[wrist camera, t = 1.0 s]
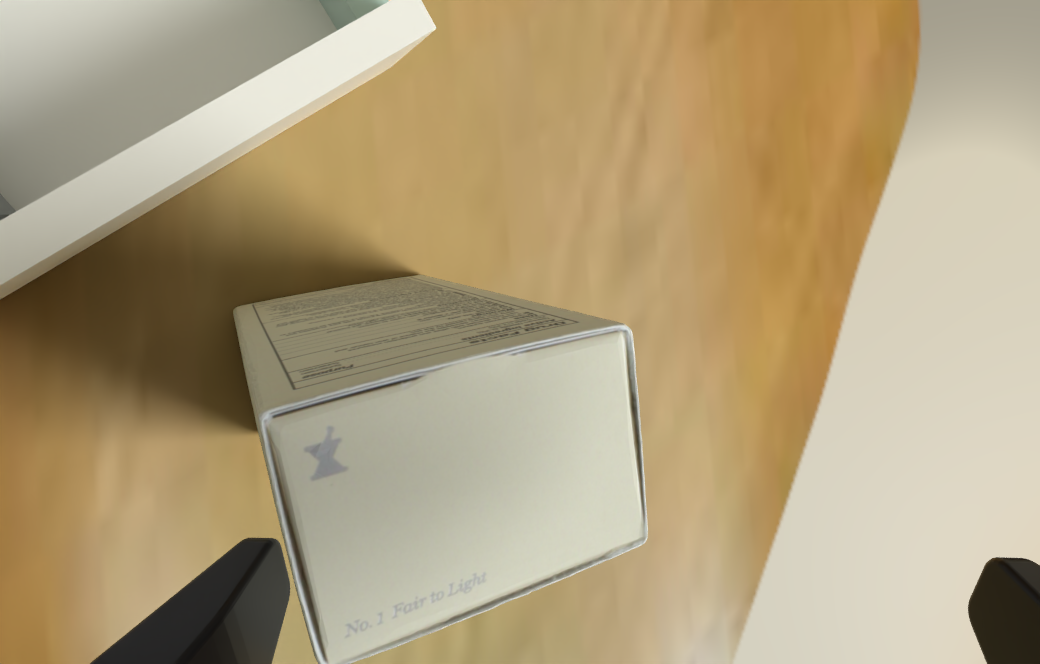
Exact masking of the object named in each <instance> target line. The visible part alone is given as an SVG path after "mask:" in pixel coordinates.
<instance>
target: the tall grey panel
mask: <svg viewBox="0 0 1040 664" xmlns="http://www.w3.org/2000/svg"><path fill="white" fill-rule="evenodd" d="M15 212H16V211H15V209H14V208H13V207H12V206H11V205H10V204H9V203H8V202H7V201H6V199H5V198H4V197H3V196H2V195H1V194H0V220H2V219H4V218H6V217H8V216H9V215H11V214H13V213H15Z"/></svg>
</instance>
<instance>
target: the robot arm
mask: <svg viewBox="0 0 1040 664" xmlns="http://www.w3.org/2000/svg"><path fill="white" fill-rule="evenodd" d="M289 595H290V581H289V577H288V573H287V569H286V565H285V561H284V557H283V553H282V549H281V546H280V543H279V542H278V541H277V540H276V539H273V538H246V539H244V540H242V541H241V542H239V543H238V544H237V545H236V546H234V547H233V548H232V549H231V550H229V551H228V552H227V553H226V554H224V555H223V556H222V557H221V558H220V559H218V560H217V561H216V562H215V563H213V564H212V565H211V566H210V567H208V568H207V569H206V570H205V571H203V572H202V573H201V574H200V575H199V576H197V577H196V578H195V579H194V580H192V581H191V582H190V583H189V584H187V585H186V586H185V587H184V588H183V589H181V590H180V591H179V592H178V593H176V594H175V595H174V596H173V597H171V598H170V599H169V600H168V601H166V602H165V603H164V604H163V605H162V606H160V607H159V608H158V609H157V610H155V611H154V612H153V613H152V614H150V615H149V616H148V617H147V618H146V619H144V620H143V621H142V622H141V623H139V624H138V625H137V626H136V627H134V628H133V629H132V630H131V631H129V632H128V633H127V634H126V635H125V636H123V637H122V638H121V639H120V640H118V641H117V642H116V643H115V644H113V645H112V646H111V647H110V648H109V649H107V650H106V651H105V652H104V653H102V654H101V655H100V656H99V657H97V658H96V659H95V660H94V661H92V662H91V663H90V664H272V660H273V657H274V653H275V649H276V645H277V642H278V638H279V634H280V631H281V627H282V623H283V620H284V616H285V612H286V608H287V605H288V601H289ZM968 613H969V618H970V622H971V625H972V627H973V630H974V632H975V635H976V637H977V640H978V642H979V645H980V647H981V650H982V652H983V654H984V657H985V660H986V662H987V664H1040V565H1038V564H1036V563H1035V562H1033V561H1030V560H1028V559H1023V558H998V557H996V558H992V559H991V560H989V561H988V562H987V563H986V565H985V566H984V569H983V571H982V573H981V575H980V578H979V580H978V582H977V585H976V586H975V589H974V591H973V593H972V595H971V598H970V600H969V605H968Z"/></svg>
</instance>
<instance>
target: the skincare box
mask: <svg viewBox="0 0 1040 664" xmlns="http://www.w3.org/2000/svg"><path fill="white" fill-rule="evenodd" d="M233 315H234V319H235V324H236V329H237V334H238V339H239V344H240V349H241V354H242V359H243V364H244V369H245V374H246V379H247V383H248V388H249V393H250V397H251V401H252V405H253V410H254V415H255V419H256V424H257V429H258V433H259V437H260V442H261V446H262V450H263V454H264V458H265V462H266V466H267V471H268V475H269V480H270V484H271V489H272V493H273V498H274V502H275V507H276V511H277V515H278V519H279V523H280V527H281V531H282V535H283V539H284V543H285V547H286V551H287V555H288V559H289V563H290V567H291V571H292V575H293V579H294V583H295V587H296V591H297V594H298V598H299V601H300V605H301V609H302V612H303V616H304V620H305V623H306V627H307V630H308V634H309V638H310V641H311V645H312V648H313V652H314V656H315V658H316V660H317V662H318V664H350V663H353V662H356V661H358V660H361V659H364V658H368V657H370V656H373V655H375V654H377V653H380V652H383V651H386V650H389V649H392V648H395V647H398V646H400V645H402V644H405V643H408V642H410V641H412V640H415V639H417V638H419V637H422V636H425V635H427V634H430V633H433V632H435V631H438V630H441V629H443V628H445V627H447V626H449V625H452V624H454V623H457V622H460V621H463V620H465V619H468V618H470V617H472V616H475V615H477V614H480V613H483V612H485V611H488V610H490V609H493V608H495V607H497V606H499V605H501V604H503V603H506V602H508V601H511V600H513V599H516V598H519V597H522V596H525V595H528V594H529V593H530V592H532V591H535V590H538V589H540V588H543V587H545V586H547V585H550V584H552V583H555V582H557V581H560V580H562V579H565V578H567V577H570V576H572V575H574V574H576V573H578V572H580V571H582V570H585V569H587V568H590V567H592V566H595V565H597V564H600V563H602V562H604V561H606V560H609V559H612V558H614V557H616V556H618V555H621V554H623V553H625V552H628V551H630V550H632V549H634V548H637V547H639V546H641V545H642V544H644V543H645V541H646V540H647V537H648V526H647V510H646V497H645V480H644V467H643V452H642V437H641V425H640V410H639V398H638V388H637V379H636V364H635V352H634V343H633V335H632V331H631V329H630V328H629V327H628V326H626V325H625V324H623V323H619V322H615V321H611V320H607V319H602V318H598V317H594V316H589V315H586V314H582V313H578V312H574V311H570V310H566V309H561V308H557V307H553V306H548V305H544V304H540V303H536V302H532V301H527V300H523V299H519V298H515V297H511V296H507V295H503V294H499V293H495V292H491V291H487V290H482V289H478V288H474V287H470V286H466V285H462V284H457V283H453V282H449V281H445V280H441V279H437V278H433V277H429V276H425V275H415V276H408V277H401V278H394V279H388V280H381V281H375V282H368V283H362V284H356V285H350V286H344V287H338V288H333V289H327V290H321V291H315V292H309V293H304V294H299V295H294V296H288V297H282V298H277V299H272V300H267V301H262V302H257V303H252V304H247V305H242V306H238V307H236V308H235V309H234V310H233Z"/></svg>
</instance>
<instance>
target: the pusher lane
mask: <svg viewBox="0 0 1040 664" xmlns="http://www.w3.org/2000/svg"><path fill="white" fill-rule="evenodd" d="M435 29H436V26H435V24H434V23H433V21H432V19H431V17H430V15H429V14H428V12H427V10H426V8H425V6H424V4H423V3H422V1H421V0H390V1H388V0H0V194H1V195H2V196H3V197H4V198H5V199H6V201H7V202H8V203H9V204H10V205H11V206H12V207H13V208H14V209H15V211H16V212H15V213H13V214H11V215H9V216H8V217H6V218H4V219H2V220H0V299H2V298H4V297H5V296H7V295H9V294H10V293H12V292H14V291H16V290H17V289H19V288H21V287H22V286H24V285H26V284H27V283H29V282H31V281H32V280H34V279H36V278H37V277H39V276H41V275H42V274H44V273H46V272H48V271H49V270H51V269H53V268H54V267H56V266H58V265H59V264H61V263H63V262H64V261H66V260H68V259H69V258H71V257H73V256H74V255H76V254H78V253H79V252H81V251H83V250H85V249H86V248H88V247H90V246H91V245H93V244H95V243H96V242H98V241H100V240H101V239H103V238H105V237H106V236H108V235H110V234H111V233H113V232H115V231H117V230H118V229H120V228H122V227H123V226H125V225H127V224H128V223H130V222H132V221H133V220H135V219H137V218H138V217H140V216H142V215H143V214H145V213H147V212H149V211H150V210H152V209H154V208H155V207H157V206H159V205H160V204H162V203H164V202H165V201H167V200H169V199H170V198H172V197H174V196H175V195H177V194H179V193H181V192H182V191H184V190H186V189H187V188H189V187H191V186H192V185H194V184H196V183H197V182H199V181H201V180H202V179H204V178H206V177H207V176H209V175H211V174H213V173H214V172H216V171H218V170H219V169H221V168H223V167H224V166H226V165H228V164H229V163H231V162H233V161H234V160H236V159H238V158H239V157H241V156H243V155H244V154H246V153H248V152H250V151H251V150H253V149H255V148H256V147H258V146H260V145H261V144H263V143H265V142H266V141H268V140H270V139H271V138H273V137H275V136H276V135H278V134H280V133H282V132H283V131H285V130H287V129H288V128H290V127H292V126H293V125H295V124H297V123H298V122H300V121H302V120H303V119H305V118H307V117H308V116H310V115H312V114H314V113H315V112H317V111H319V110H320V109H322V108H324V107H325V106H327V105H329V104H330V103H332V102H334V101H335V100H337V99H339V98H340V97H342V96H344V95H346V94H347V93H349V92H351V91H352V90H354V89H356V88H357V87H359V86H361V85H362V84H364V83H366V82H367V81H369V80H371V79H372V78H374V77H376V76H377V75H379V74H381V73H383V72H384V71H386V70H388V69H389V68H390V67H392V66H393V65H394V64H395V63H396V62H398V61H399V60H400V59H401V58H402V57H403V56H405V55H406V54H407V53H408V52H409V51H411V50H412V49H413V48H414V47H415V46H416V45H418V44H419V43H420V42H421V41H422V40H423V39H425V38H426V37H427V36H428V35H429V34H431V33H432V32H433V31H434V30H435Z"/></svg>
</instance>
